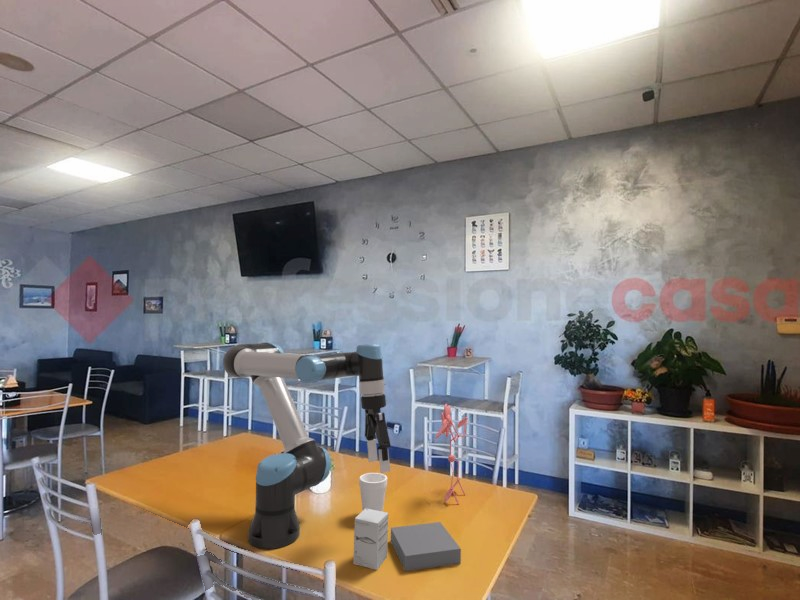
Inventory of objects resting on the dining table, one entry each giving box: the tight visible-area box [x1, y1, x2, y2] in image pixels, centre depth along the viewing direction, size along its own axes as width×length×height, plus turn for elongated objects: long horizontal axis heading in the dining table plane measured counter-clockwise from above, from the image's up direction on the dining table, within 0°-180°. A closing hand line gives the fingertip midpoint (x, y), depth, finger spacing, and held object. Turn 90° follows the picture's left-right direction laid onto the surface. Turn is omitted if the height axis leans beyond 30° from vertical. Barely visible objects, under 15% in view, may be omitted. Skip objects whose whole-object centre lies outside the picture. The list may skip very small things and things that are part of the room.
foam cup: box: [358, 472, 388, 512], centre depth 147 cm, size 10×9×13 cm
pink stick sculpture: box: [424, 403, 471, 506], centre depth 165 cm, size 15×26×35 cm, turn 157°
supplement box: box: [353, 508, 389, 571], centre depth 120 cm, size 7×7×13 cm
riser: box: [390, 521, 462, 572], centre depth 125 cm, size 16×16×4 cm
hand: (379, 466), depth 129 cm, fingers open, 13 cm apart
